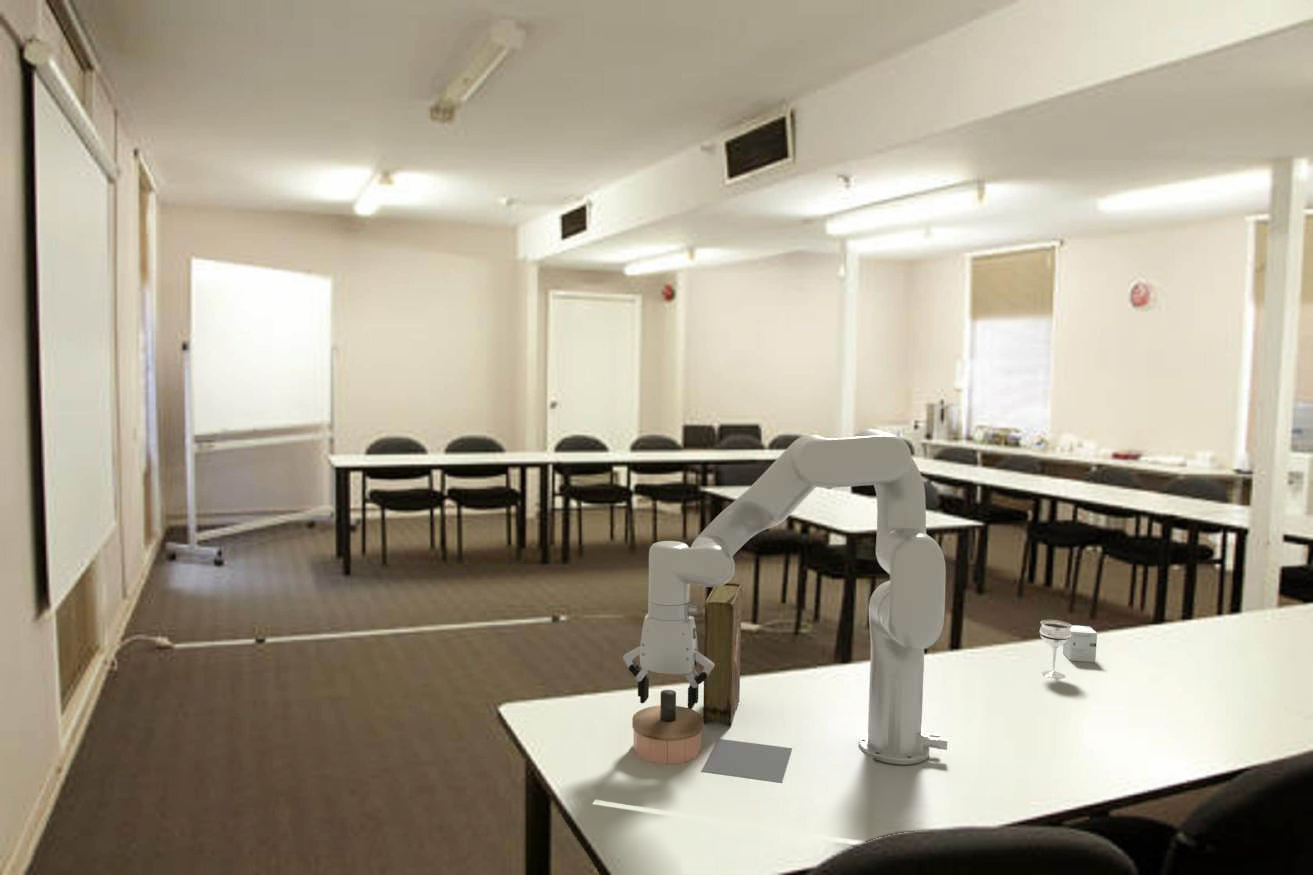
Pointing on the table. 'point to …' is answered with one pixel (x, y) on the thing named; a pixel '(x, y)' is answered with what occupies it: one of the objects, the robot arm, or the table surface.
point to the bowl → (667, 749)
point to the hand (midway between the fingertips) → (667, 703)
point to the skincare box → (1081, 644)
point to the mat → (748, 760)
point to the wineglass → (1055, 640)
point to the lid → (668, 720)
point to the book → (722, 653)
